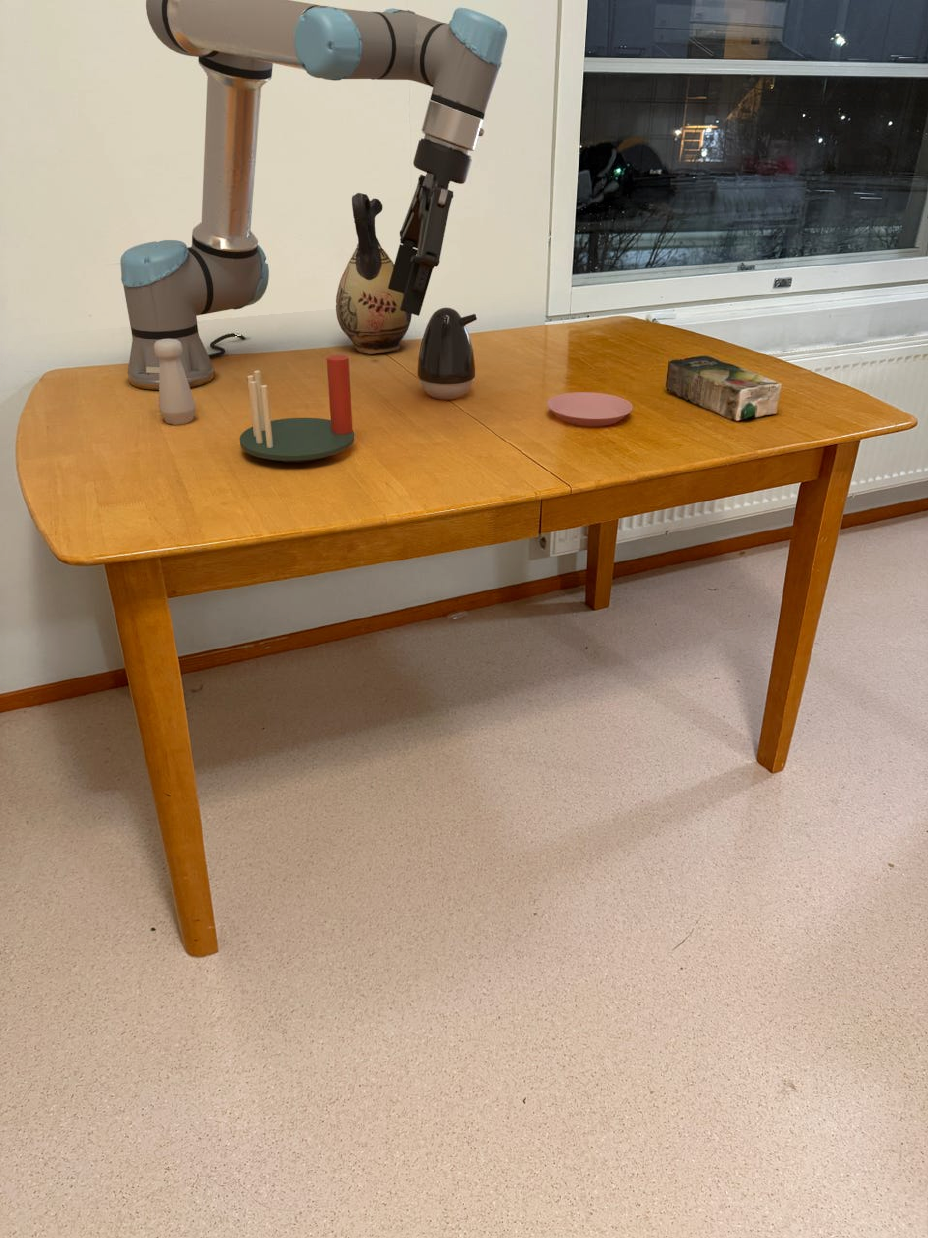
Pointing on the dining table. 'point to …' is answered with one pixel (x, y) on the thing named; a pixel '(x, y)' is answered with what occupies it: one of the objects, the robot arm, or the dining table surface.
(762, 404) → the juice carton
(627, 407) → the plate
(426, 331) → the pump dispenser
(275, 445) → the drying rack
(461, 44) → the robot arm
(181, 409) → the salt shaker
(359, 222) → the ceramic jug
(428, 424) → the dining table surface
